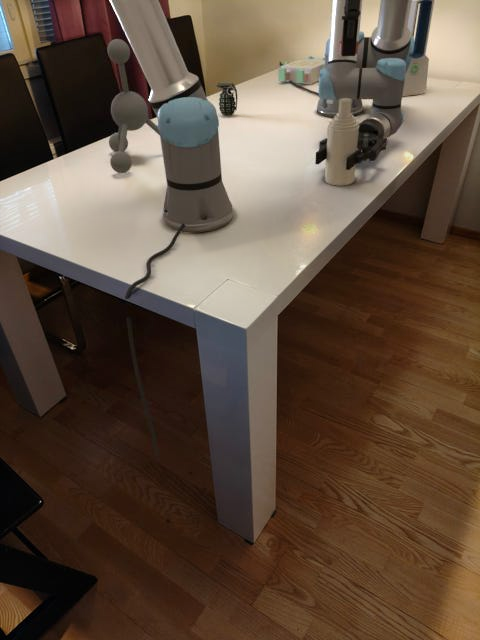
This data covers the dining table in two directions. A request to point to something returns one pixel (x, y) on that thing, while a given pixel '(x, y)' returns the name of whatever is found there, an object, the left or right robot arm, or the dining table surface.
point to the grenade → (227, 99)
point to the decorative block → (302, 70)
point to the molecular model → (125, 110)
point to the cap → (342, 45)
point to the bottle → (341, 145)
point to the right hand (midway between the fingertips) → (332, 161)
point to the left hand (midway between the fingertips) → (348, 53)
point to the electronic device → (418, 47)
